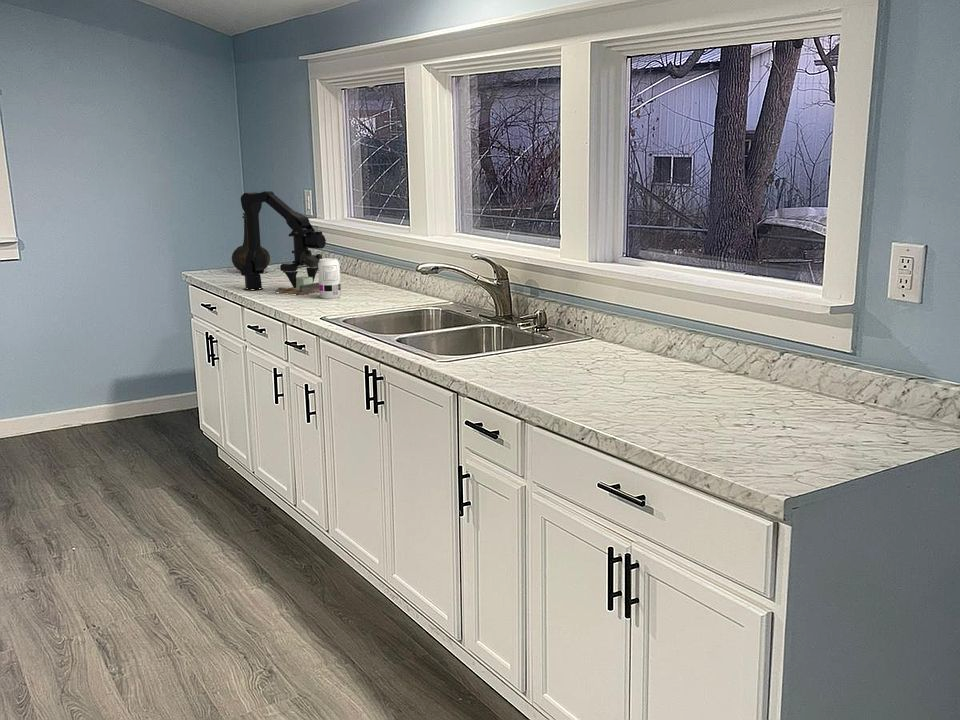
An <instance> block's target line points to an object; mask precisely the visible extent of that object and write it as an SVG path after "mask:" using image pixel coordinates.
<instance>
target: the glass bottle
mask: <svg viewBox="0 0 960 720" xmlns="http://www.w3.org/2000/svg"><path fill="white" fill-rule="evenodd" d="M242 214H243V216H242V217H241V218H242V219H243V243H242V245H240V246H237V248H236V249H234V251H233V252H232V254H231V262H232V264H233V266H234V268H236V270H238V271H239V270H241V269H242V268H243V266H244V265H245V258H246V255H247V252H248V234H247V219H246V214H245V212H243V213H242ZM261 251H262V252H263V254H265V253H266V255H267V257H266V260H267V263H266V267H265V268H264V269H265V270H266V269H267V268H268V266H269V264H270V262H271V256H270V252H269V251H268V250H267V249H266V248H265V247H263V246H261Z"/></svg>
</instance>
